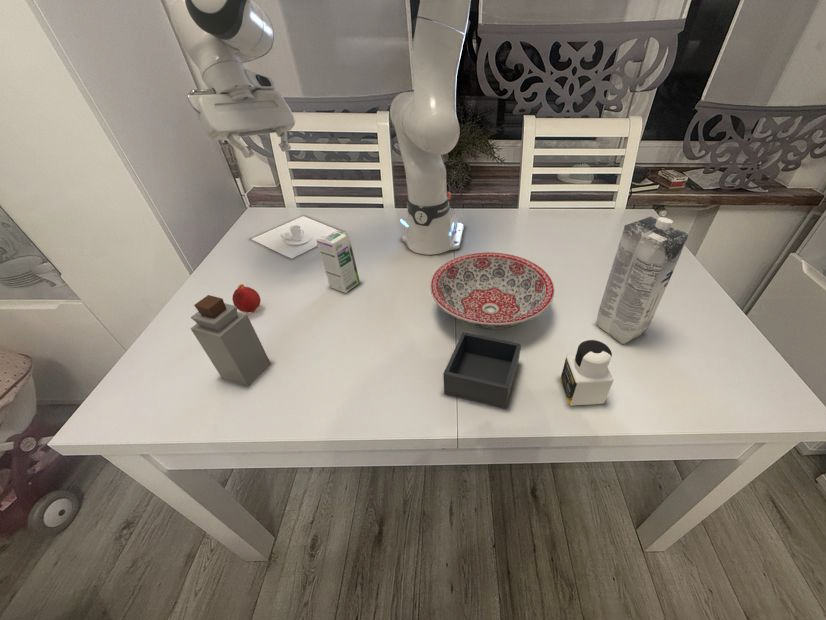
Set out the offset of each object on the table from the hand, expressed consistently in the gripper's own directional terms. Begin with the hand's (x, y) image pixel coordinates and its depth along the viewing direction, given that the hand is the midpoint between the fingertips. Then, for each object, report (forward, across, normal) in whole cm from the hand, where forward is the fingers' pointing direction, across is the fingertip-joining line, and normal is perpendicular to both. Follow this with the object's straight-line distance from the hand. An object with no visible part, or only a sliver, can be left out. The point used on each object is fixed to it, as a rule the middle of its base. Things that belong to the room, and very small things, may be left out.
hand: (269, 153), depth 87 cm
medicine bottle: (+71, +3, -48) cm, 86 cm away
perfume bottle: (+39, -29, +4) cm, 49 cm away
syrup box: (+33, +5, +6) cm, 34 cm away
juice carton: (+70, +26, -51) cm, 90 cm away
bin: (+61, -4, -33) cm, 69 cm away
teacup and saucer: (+14, +16, +32) cm, 39 cm away
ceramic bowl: (+54, +16, -26) cm, 62 cm away
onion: (+29, -16, +17) cm, 37 cm away
